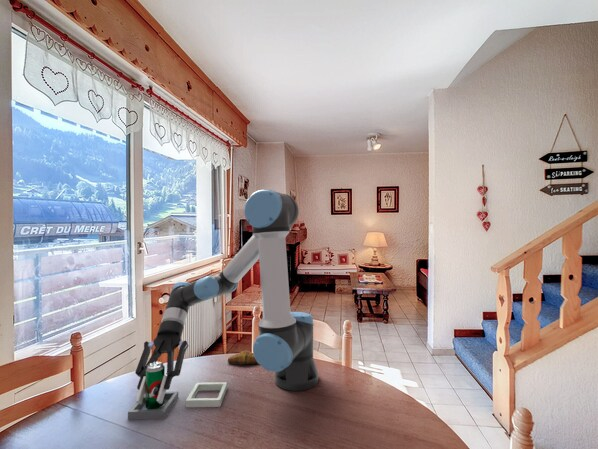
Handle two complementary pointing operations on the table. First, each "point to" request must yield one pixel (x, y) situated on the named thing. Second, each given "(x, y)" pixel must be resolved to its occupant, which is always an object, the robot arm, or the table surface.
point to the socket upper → (153, 413)
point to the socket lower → (206, 402)
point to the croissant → (243, 358)
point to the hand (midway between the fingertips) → (149, 402)
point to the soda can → (153, 384)
